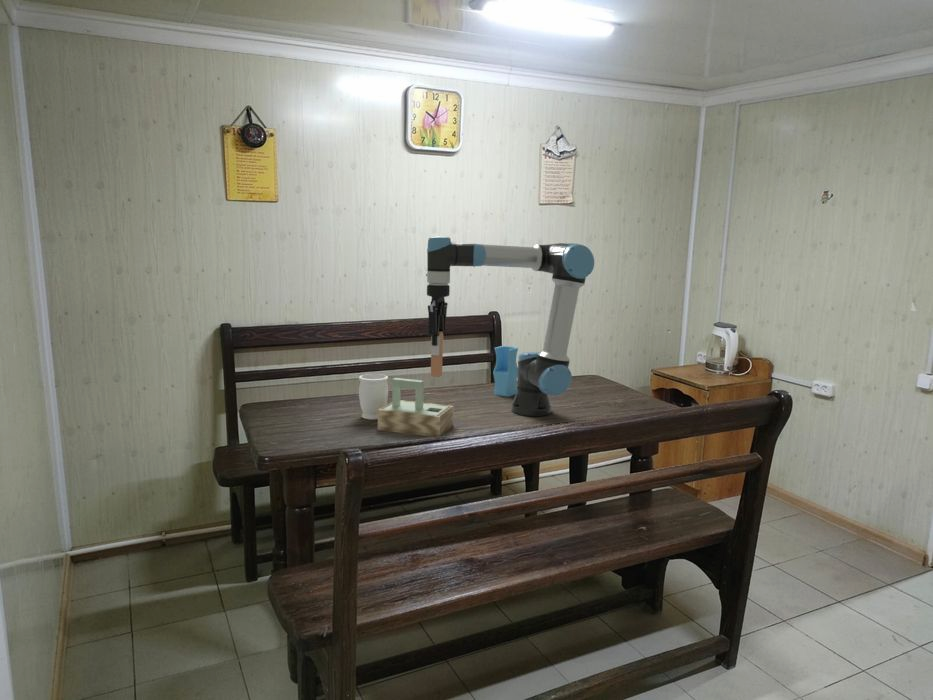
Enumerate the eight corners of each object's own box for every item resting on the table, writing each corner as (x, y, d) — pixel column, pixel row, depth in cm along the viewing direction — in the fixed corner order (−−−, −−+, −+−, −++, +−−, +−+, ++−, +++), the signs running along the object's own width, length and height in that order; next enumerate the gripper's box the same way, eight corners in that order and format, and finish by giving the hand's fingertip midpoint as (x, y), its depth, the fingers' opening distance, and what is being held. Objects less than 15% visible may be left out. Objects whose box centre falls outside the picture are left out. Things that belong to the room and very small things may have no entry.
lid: (448, 409, 220) (449, 379, 218) (436, 418, 208) (437, 387, 206) (397, 403, 225) (397, 374, 223) (382, 412, 214) (383, 381, 212)
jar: (374, 422, 222) (375, 381, 219) (352, 417, 227) (352, 377, 224) (393, 416, 231) (394, 376, 228) (372, 411, 236) (372, 372, 233)
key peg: (442, 375, 214) (443, 331, 212) (439, 377, 211) (440, 332, 209) (433, 374, 215) (434, 331, 212) (430, 376, 212) (431, 332, 210)
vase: (492, 393, 268) (494, 347, 265) (501, 390, 275) (503, 345, 271) (508, 397, 264) (510, 350, 261) (517, 393, 270) (519, 347, 267)
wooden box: (453, 425, 222) (453, 405, 220) (438, 437, 208) (439, 417, 206) (395, 418, 228) (395, 399, 227) (377, 429, 214) (377, 409, 213)
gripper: (435, 282, 216) (434, 349, 220) (418, 285, 201) (417, 357, 205) (456, 283, 214) (454, 351, 218) (441, 286, 199) (439, 359, 203)
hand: (437, 353), depth 212 cm, fingers closed on key peg, 3 cm apart
